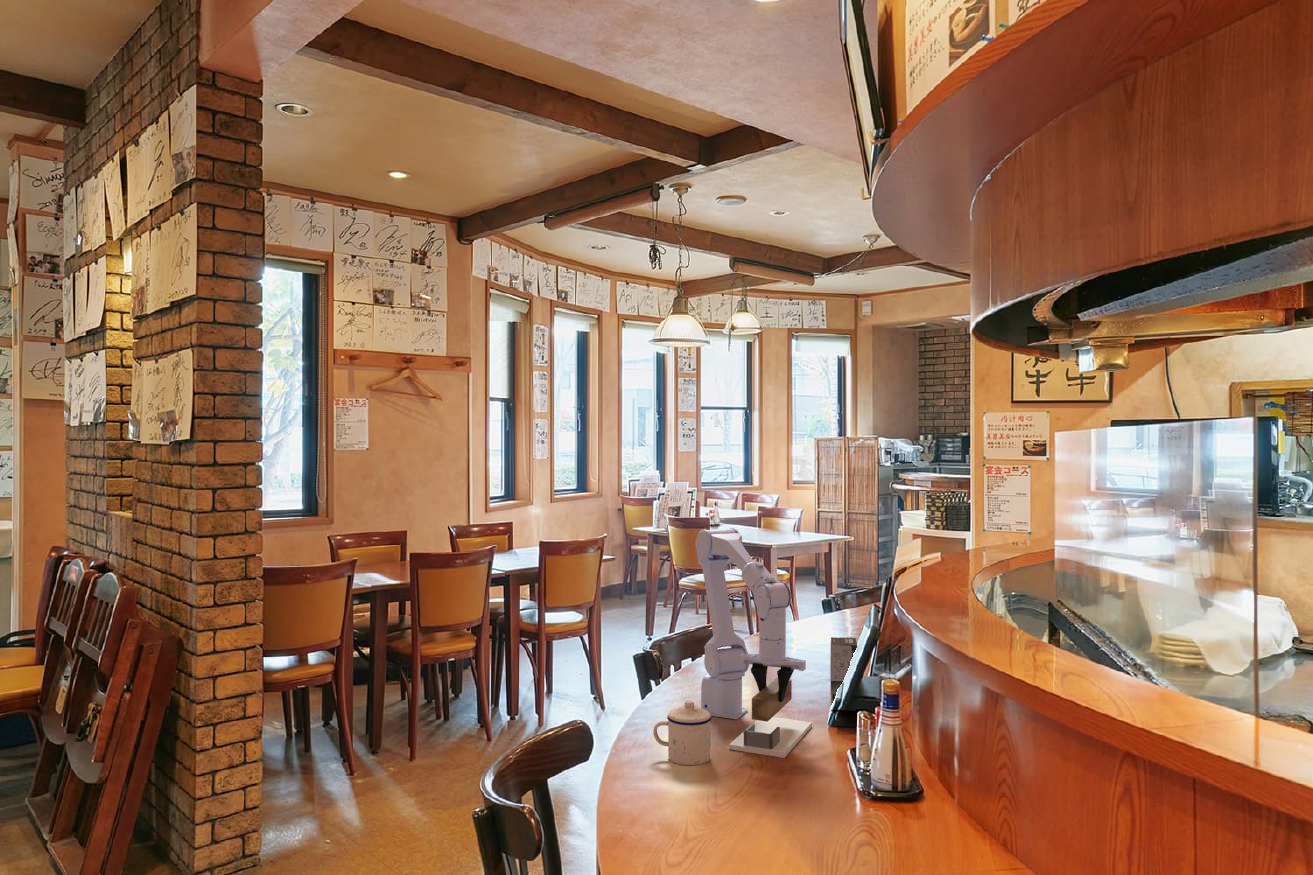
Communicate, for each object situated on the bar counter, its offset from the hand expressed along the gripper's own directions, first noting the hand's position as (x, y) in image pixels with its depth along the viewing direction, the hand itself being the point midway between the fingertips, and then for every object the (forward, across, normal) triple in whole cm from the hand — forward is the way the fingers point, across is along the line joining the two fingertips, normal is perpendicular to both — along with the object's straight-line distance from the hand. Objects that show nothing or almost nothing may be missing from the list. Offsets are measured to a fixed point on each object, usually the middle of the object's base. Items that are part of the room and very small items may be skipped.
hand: (772, 699), depth 194 cm
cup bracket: (+8, 0, 0) cm, 8 cm away
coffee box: (+9, +9, +30) cm, 32 cm away
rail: (+2, 0, 0) cm, 2 cm away
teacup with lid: (+9, -13, -20) cm, 25 cm away
